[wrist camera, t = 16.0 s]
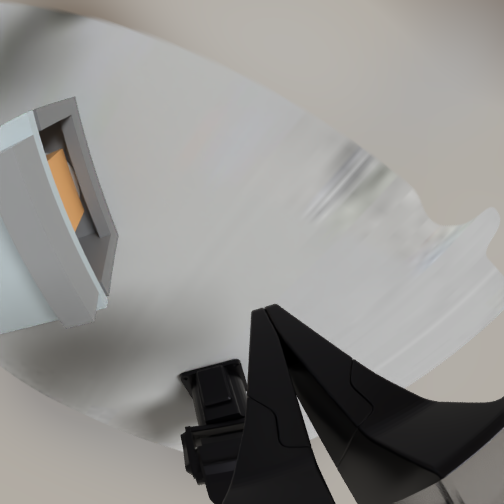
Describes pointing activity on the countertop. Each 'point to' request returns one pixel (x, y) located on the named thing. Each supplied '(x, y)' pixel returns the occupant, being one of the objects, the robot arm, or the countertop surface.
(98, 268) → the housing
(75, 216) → the block
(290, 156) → the countertop surface
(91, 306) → the lid
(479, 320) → the countertop surface
